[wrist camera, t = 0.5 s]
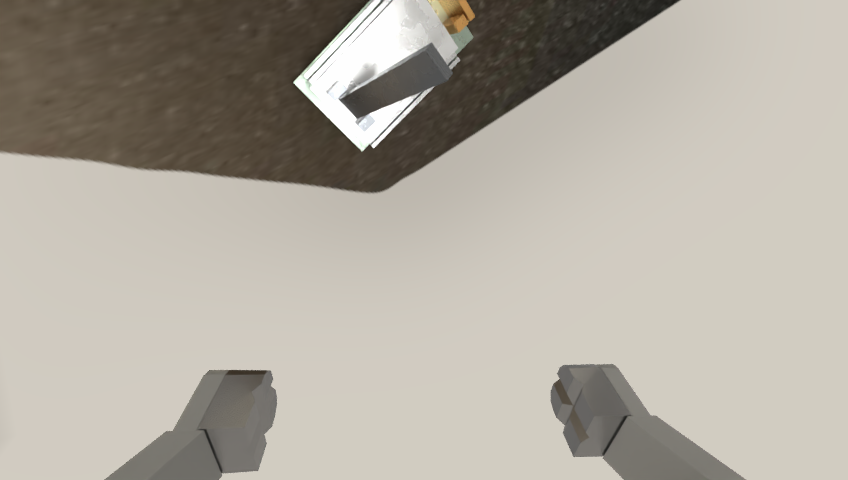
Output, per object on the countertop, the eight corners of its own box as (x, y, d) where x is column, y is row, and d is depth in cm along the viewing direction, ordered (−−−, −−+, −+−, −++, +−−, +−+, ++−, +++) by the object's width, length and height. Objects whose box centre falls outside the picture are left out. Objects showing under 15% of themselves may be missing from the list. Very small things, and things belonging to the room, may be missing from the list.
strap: (360, 113, 44) (355, 119, 43) (342, 94, 42) (337, 100, 42) (452, 73, 30) (447, 80, 30) (431, 42, 28) (425, 50, 28)
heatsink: (360, 149, 51) (370, 161, 45) (293, 82, 45) (293, 84, 38) (468, 38, 49) (495, 34, 43) (415, -48, 43) (437, -68, 37)
